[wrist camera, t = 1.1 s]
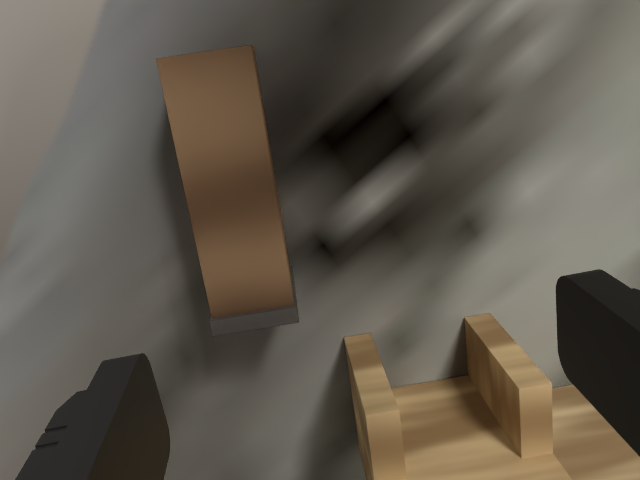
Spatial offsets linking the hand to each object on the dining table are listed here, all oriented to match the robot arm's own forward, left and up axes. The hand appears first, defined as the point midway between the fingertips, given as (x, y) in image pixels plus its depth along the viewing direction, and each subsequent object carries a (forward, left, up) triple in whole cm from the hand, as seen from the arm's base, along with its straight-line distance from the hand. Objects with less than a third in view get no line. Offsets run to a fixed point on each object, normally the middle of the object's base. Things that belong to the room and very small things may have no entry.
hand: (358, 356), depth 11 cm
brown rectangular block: (0, -3, -21) cm, 22 cm away
